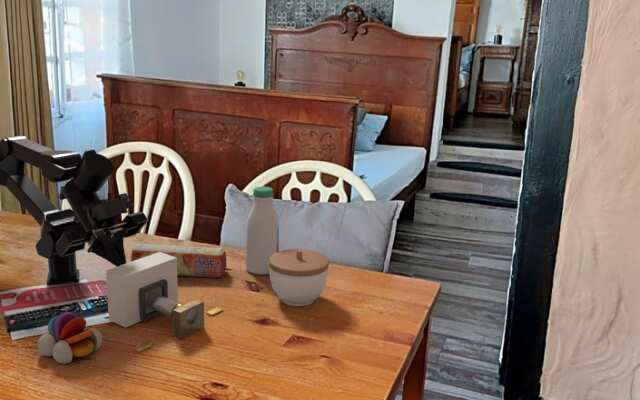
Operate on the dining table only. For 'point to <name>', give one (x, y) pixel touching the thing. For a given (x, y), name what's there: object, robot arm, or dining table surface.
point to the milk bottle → (261, 232)
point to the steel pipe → (178, 315)
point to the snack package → (188, 259)
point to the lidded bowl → (298, 275)
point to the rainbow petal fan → (68, 338)
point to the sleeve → (140, 287)
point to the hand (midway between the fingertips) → (124, 268)
